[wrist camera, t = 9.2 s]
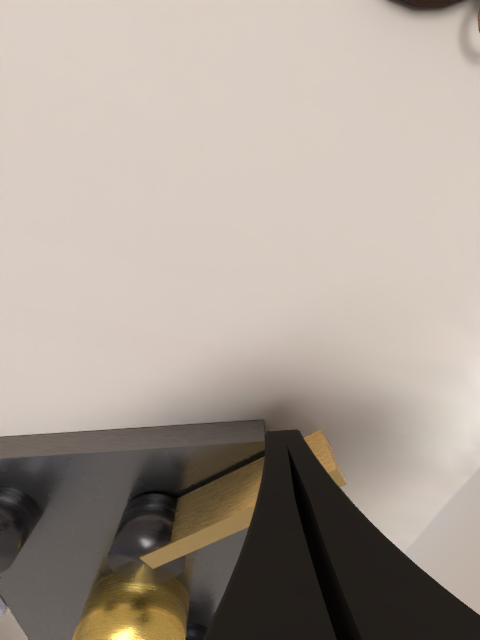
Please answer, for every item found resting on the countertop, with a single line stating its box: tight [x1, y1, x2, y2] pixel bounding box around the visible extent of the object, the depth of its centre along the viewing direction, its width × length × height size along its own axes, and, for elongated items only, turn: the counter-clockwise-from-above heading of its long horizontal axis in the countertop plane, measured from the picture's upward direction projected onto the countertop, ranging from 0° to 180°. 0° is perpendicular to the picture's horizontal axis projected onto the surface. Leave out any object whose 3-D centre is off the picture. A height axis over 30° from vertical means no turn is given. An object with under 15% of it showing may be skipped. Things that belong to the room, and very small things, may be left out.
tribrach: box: [0, 420, 265, 640], centre depth 16 cm, size 17×20×5 cm
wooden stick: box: [108, 430, 346, 584], centre depth 13 cm, size 12×4×2 cm, turn 122°
